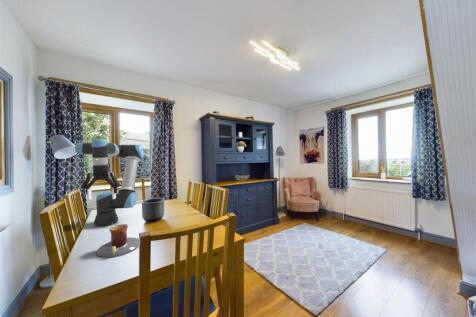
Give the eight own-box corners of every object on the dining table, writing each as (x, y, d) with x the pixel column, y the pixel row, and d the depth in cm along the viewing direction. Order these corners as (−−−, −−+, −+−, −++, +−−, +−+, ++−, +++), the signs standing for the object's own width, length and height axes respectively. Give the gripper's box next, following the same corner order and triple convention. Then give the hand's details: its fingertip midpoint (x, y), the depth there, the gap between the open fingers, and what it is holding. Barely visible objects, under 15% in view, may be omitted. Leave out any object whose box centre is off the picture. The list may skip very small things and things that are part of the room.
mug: (107, 246, 101) (106, 227, 101) (124, 240, 108) (123, 223, 108) (116, 253, 94) (115, 233, 94) (134, 246, 101) (133, 227, 101)
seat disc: (106, 242, 109) (106, 234, 109) (143, 237, 115) (143, 229, 114) (89, 260, 90) (89, 250, 90) (135, 254, 95) (135, 245, 95)
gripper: (72, 165, 106) (74, 201, 107) (119, 164, 110) (121, 199, 111) (81, 164, 113) (83, 198, 115) (125, 163, 117) (126, 196, 118)
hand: (102, 199), depth 113 cm, fingers open, 13 cm apart
